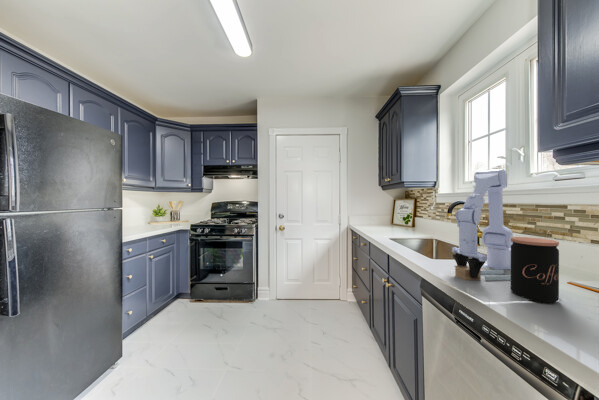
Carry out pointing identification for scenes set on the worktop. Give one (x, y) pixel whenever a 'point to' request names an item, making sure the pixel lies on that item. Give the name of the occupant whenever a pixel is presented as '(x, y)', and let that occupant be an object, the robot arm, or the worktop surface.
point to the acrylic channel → (489, 275)
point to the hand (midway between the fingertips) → (468, 275)
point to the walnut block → (465, 273)
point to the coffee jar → (535, 269)
